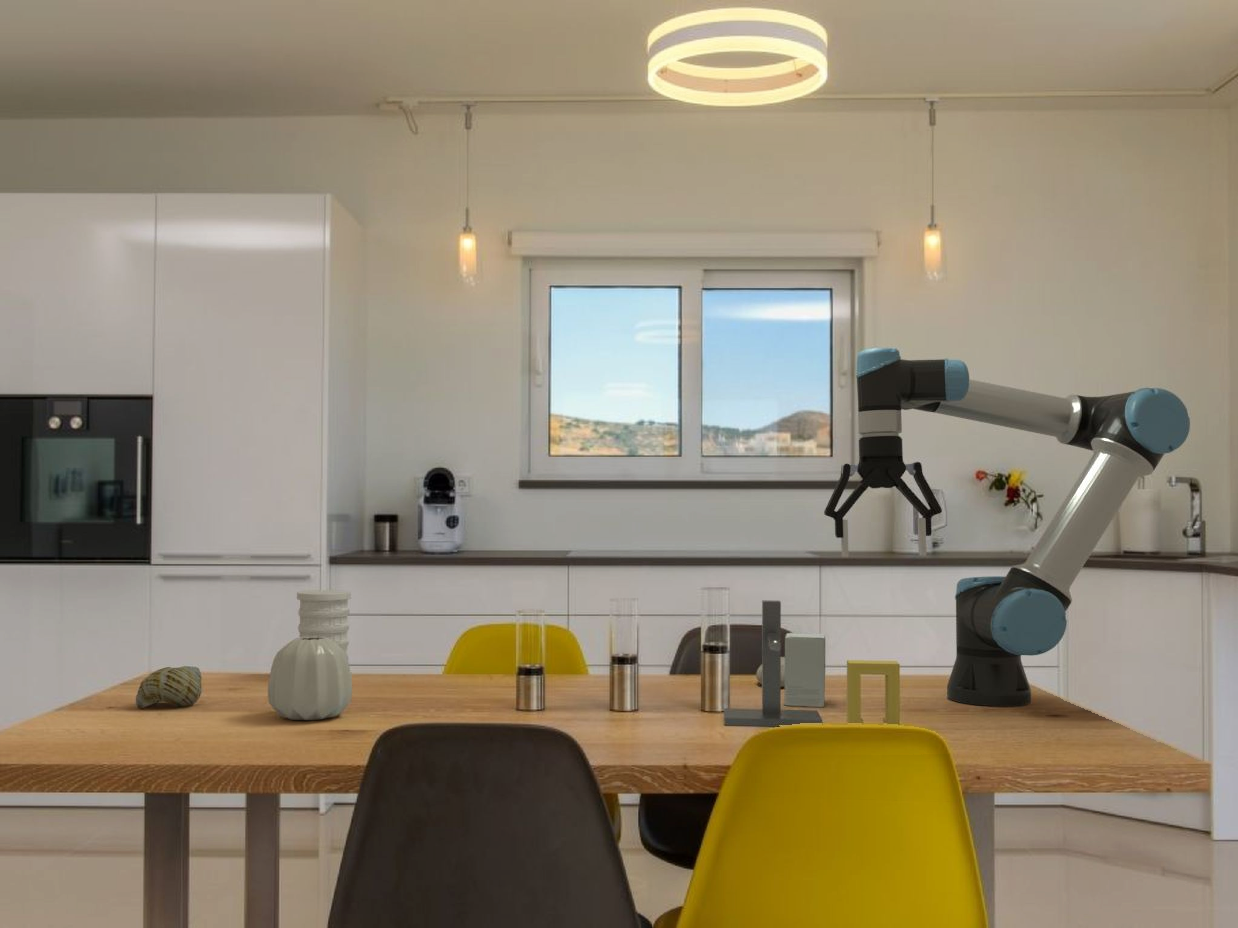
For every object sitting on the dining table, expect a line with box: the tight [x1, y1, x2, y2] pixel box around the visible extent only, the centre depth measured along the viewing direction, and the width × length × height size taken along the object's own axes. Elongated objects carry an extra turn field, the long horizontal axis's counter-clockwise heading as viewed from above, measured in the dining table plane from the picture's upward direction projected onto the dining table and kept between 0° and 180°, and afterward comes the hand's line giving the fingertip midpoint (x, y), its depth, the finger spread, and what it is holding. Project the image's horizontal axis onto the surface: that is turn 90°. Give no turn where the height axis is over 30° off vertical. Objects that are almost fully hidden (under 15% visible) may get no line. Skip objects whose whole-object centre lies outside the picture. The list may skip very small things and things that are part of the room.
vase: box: [267, 636, 353, 721], centre depth 193 cm, size 14×14×13 cm
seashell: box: [135, 665, 203, 709], centre depth 203 cm, size 10×10×10 cm
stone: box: [755, 656, 785, 689], centre depth 232 cm, size 13×10×8 cm
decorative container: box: [296, 589, 352, 677], centre depth 234 cm, size 12×12×18 cm
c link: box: [846, 659, 901, 725], centre depth 185 cm, size 8×4×11 cm, turn 85°
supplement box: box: [783, 632, 826, 708], centre depth 210 cm, size 7×7×13 cm
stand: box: [723, 599, 823, 727], centre depth 189 cm, size 16×16×20 cm
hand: (883, 556), depth 201 cm, fingers open, 13 cm apart
